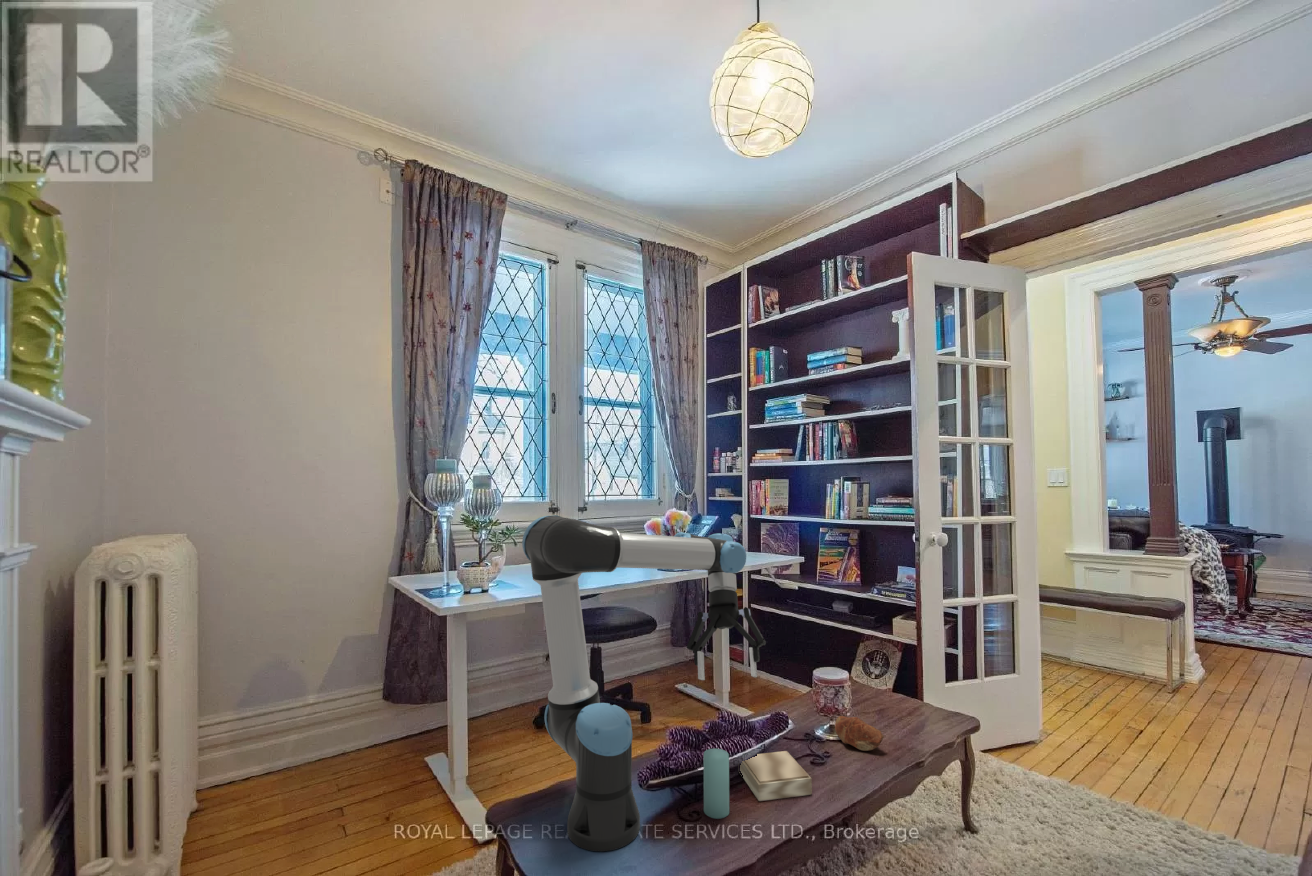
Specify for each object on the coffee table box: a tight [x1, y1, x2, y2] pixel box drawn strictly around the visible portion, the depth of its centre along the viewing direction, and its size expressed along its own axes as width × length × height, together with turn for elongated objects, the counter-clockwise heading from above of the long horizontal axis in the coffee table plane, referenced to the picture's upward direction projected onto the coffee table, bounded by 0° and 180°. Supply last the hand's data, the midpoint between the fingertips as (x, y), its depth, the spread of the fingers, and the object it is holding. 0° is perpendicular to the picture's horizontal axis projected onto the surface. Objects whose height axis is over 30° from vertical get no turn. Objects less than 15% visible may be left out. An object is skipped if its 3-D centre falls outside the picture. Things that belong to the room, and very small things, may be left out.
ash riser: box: [740, 750, 813, 802], centre depth 136 cm, size 13×13×4 cm
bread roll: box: [834, 715, 885, 752], centre depth 156 cm, size 13×8×10 cm
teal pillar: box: [703, 748, 730, 820], centre depth 125 cm, size 6×6×12 cm
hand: (727, 678), depth 140 cm, fingers open, 13 cm apart
